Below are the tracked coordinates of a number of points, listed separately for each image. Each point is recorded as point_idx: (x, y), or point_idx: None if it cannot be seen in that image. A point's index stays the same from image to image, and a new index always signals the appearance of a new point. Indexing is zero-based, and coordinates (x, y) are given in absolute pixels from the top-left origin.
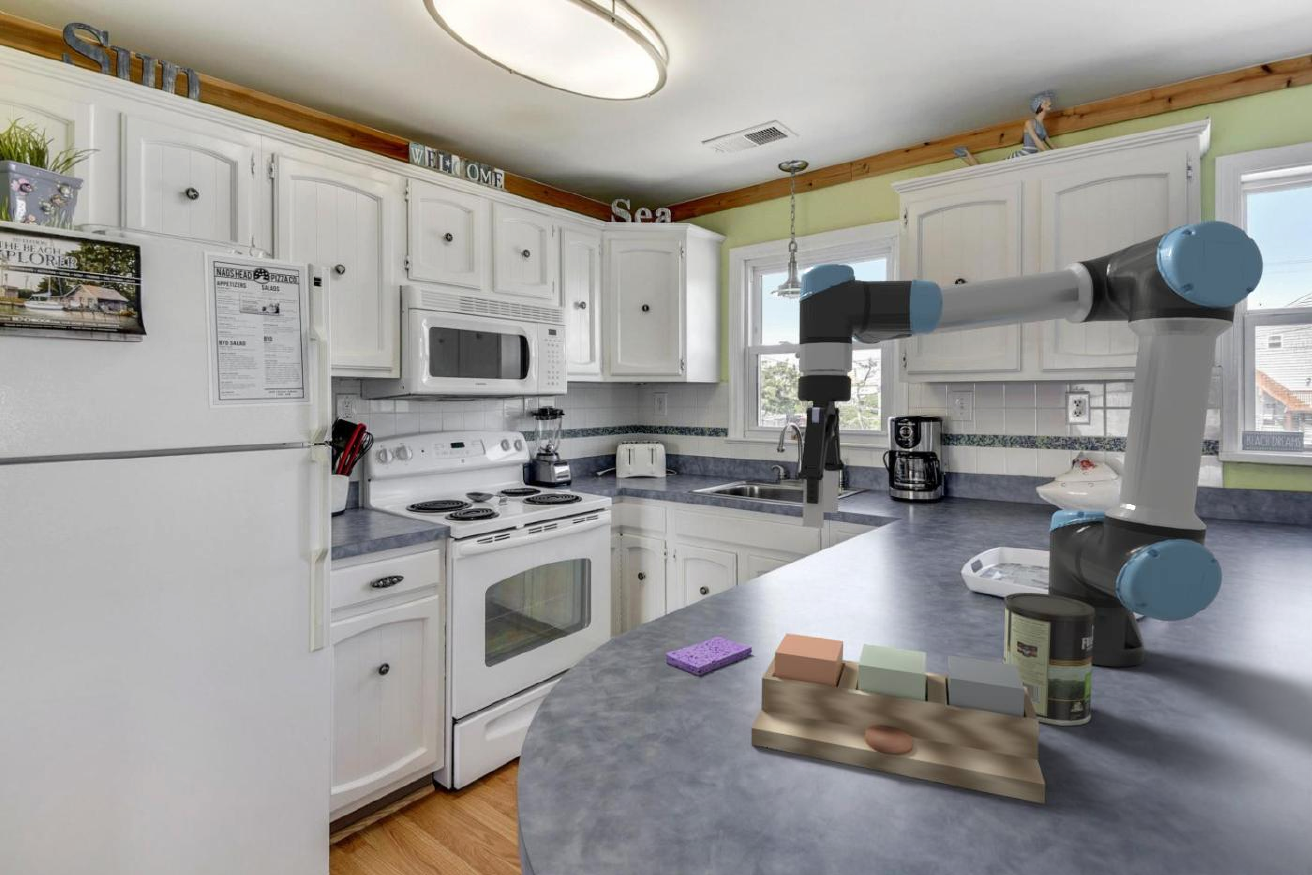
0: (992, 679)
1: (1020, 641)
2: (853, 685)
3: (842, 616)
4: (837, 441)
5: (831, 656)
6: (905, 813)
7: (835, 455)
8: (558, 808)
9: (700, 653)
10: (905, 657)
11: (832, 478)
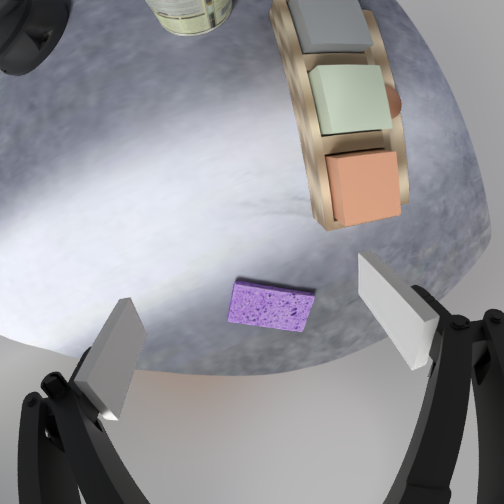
0: (351, 12)
1: None
2: (373, 134)
3: (67, 249)
4: (41, 475)
5: (387, 158)
6: (422, 91)
7: (92, 440)
8: (471, 255)
9: (281, 312)
10: (347, 84)
11: (104, 376)
